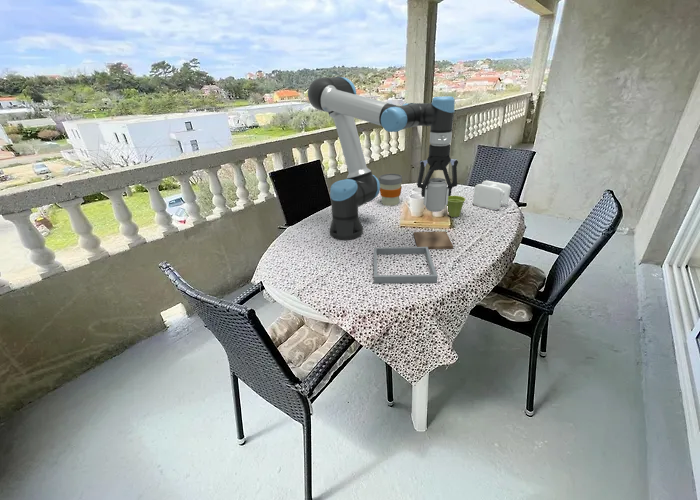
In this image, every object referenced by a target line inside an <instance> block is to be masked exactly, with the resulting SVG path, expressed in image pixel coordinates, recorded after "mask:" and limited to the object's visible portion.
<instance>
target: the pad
mask: <svg viewBox="0 0 700 500" xmlns="http://www.w3.org/2000/svg"><path fill="white" fill-rule="evenodd" d="M412 235H413V237H414V241H415V245H416V246H415V247H428V249H429V250H454V244H453V243H452V241H451V239H450V237H449V235H448V233H447V231H445V230H444V231H441V230H440V231H438V230H437V231H413V234H412Z"/></svg>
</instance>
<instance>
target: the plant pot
mask: <svg viewBox="0 0 700 500" xmlns="http://www.w3.org/2000/svg"><path fill="white" fill-rule="evenodd" d="M465 201H466V198H465V197H464V196H461V195H451V196H448V204H447V205H446V207H447V206H448V212H449V215H450V216H451V217H450V218H458V217H460V216H461V212H462V210H463V209H462V208H463V206H464V203H465Z"/></svg>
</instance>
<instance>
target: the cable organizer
mask: <svg viewBox="0 0 700 500" xmlns="http://www.w3.org/2000/svg"><path fill="white" fill-rule="evenodd" d="M510 193H511V185H509V184H508V183H502V182H498V181H492V180H487V179H486V180H483V181H482V182H481V183H477V184H476V185H475V186H474V190H473V198H472V203H473V204H474V205H475V206H477V207H478V206H479V208H485V209H488V210H491V211H497V210H499V209H500V208H501V207H502V206H505V205H508V203H509V199H510Z"/></svg>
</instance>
